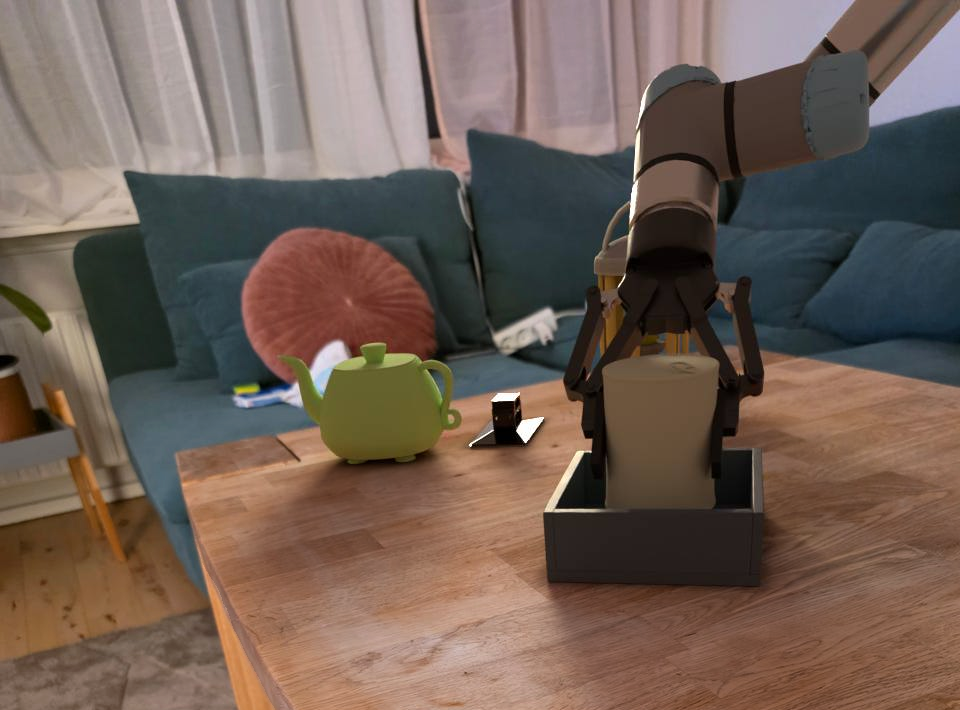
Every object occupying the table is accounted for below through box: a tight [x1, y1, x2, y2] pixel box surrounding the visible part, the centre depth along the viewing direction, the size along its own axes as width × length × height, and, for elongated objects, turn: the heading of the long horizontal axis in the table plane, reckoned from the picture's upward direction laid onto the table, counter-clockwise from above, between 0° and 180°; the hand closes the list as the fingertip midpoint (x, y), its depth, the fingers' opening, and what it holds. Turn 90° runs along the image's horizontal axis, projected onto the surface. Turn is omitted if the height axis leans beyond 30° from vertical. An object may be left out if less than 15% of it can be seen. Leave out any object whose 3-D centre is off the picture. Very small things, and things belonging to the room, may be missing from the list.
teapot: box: [277, 342, 463, 465], centre depth 109 cm, size 22×15×13 cm
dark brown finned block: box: [469, 392, 545, 448], centre depth 114 cm, size 12×7×5 cm, turn 166°
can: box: [602, 353, 720, 509], centre depth 73 cm, size 9×9×12 cm
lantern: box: [593, 200, 690, 358], centre depth 122 cm, size 14×14×25 cm
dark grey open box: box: [542, 447, 765, 587], centre depth 76 cm, size 17×17×6 cm
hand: (655, 471), depth 71 cm, fingers closed on can, 9 cm apart
